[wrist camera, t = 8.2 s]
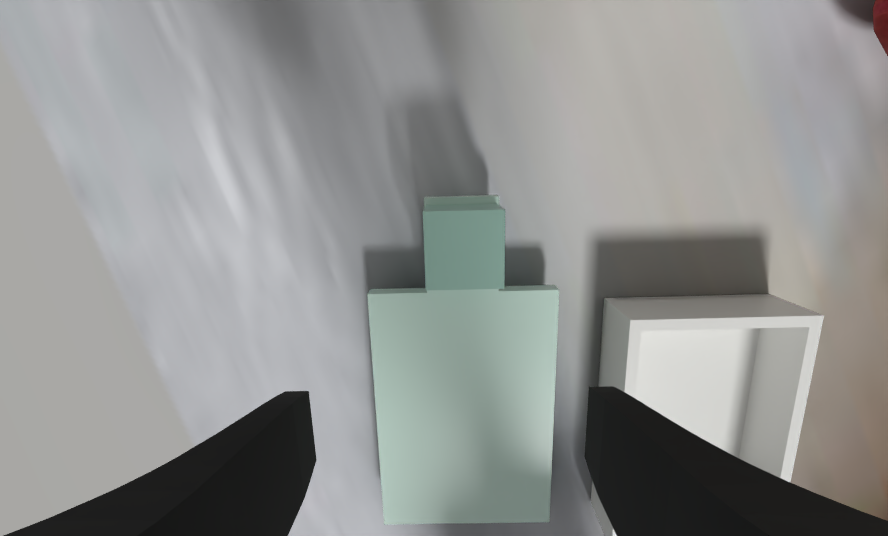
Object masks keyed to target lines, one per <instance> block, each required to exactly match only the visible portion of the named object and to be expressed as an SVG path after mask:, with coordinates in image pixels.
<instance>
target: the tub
mask: <svg viewBox="0 0 888 536" xmlns="http://www.w3.org/2000/svg"><path fill="white" fill-rule="evenodd" d="M823 318H824V315H821V314H819V313H816V312H814V311H811V310H809V309H806V308H804V307H801V306H799V305H796V304H794V303H791V302H788V301H786V300H783V299H781V298H778V297H776V296H773V295H771V294H746V295H707V296H667V297H627V298H604V307H603V323H602V338H601V353H600V368H599V383H598V387H605V386H614V387H616V388H618V389H620V390H621V391H623V392H625V393H627V394H629V395H630V396H632V397H634V398H635V399H637V400H639V401H640V402H642V403H643V404H645V405H647V406H648V407H650V408H652V409H653V410H655V411H656V412H658V413H660V414H661V415H663V416H665V417H666V418H668V419H670V420H671V421H673V422H675V423H676V424H678V425H680V426H681V427H683V428H685V429H686V430H688V431H690V432H691V433H693V434H695V435H697V436H698V437H700V438H702V439H704V440H706V441H707V442H709V443H711V444H713V445H715V446H717V447H719V448H720V449H722V450H724V451H726V452H728V453H730V454H731V455H733V456H735V457H737V458H739V459H741V460H743V461H745V462H747V463H749V464H751V465H753V466H756V467H758V468H760V469H762V470H764V471H766V472H768V473H771V474H773V475H775V476H777V477H779V478H781V479H783V480H786V481H788V482H790V481H791V476H792V471H793V466H794V461H795V457H796V452H797V447H798V442H799V437H800V432H801V427H802V422H803V417H804V412H805V407H806V402H807V397H808V392H809V387H810V382H811V377H812V372H813V368H814V363H815V358H816V353H817V348H818V343H819V338H820V333H821V328H822V323H823ZM591 504H592V507H593V509H594V511H595V514H596V516H597V518H598V521H599V523H600V526H601V528H602V530H603V533H604V535H605V536H617V535H616V533H615V531H614V529H613V527H612V525H611V523H610V520H609V518H608V516H607V514H606V512H605V510H604V508H603V506H602V504H601V501H600V499H599V497H598V495H597V492H596V489H595V486H594V483H593V481H592V489H591Z"/></svg>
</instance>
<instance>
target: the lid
mask: <svg viewBox="0 0 888 536" xmlns="http://www.w3.org/2000/svg"><path fill="white" fill-rule="evenodd" d="M423 233H424V260H425V286H426V288H394V289H370V291H369V292H368V294H367V298H368V311H369V325H370V339H371V352H372V366H373V379H374V393H375V407H376V420H377V434H378V447H379V461H380V474H381V488H382V502H383V515H384V525H388V524H463V523H539V522H549V518H550V495H551V471H552V448H553V425H554V402H555V378H556V355H557V332H558V308H559V289H558V288H557V287H556V286H555V285H530V286H504V279H505V209H504V208H502V207H501V206H500V205H499V196H498V195H476V196H437V197H424V210H423Z"/></svg>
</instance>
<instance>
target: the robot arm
mask: <svg viewBox="0 0 888 536" xmlns="http://www.w3.org/2000/svg"><path fill="white" fill-rule="evenodd" d="M585 459H586V462H587V465H588V468H589V471H590V475H591V478H592V481H593V483H594V486H595V489H596V492H597V495H598V497H599V499H600V501H601V504H602V506H603V508H604V510H605V512H606V514H607V516H608V518H609V520H610V523H611V525H612V527H613V529H614V531H615V533H616V535H617V536H888V521H886V520H883V519H881V518H878V517H875V516H872V515H870V514H867V513H864V512H861V511H859V510H856V509H854V508H851V507H849V506H846V505H844V504H841V503H839V502H836V501H834V500H831V499H828V498H826V497H823V496H821V495H818V494H816V493H813V492H811V491H809V490H806V489H804V488H802V487H799V486H797V485H795V484H792V483H790V482H788V481H786V480H783V479H781V478H779V477H777V476H775V475H773V474H771V473H768V472H766V471H764V470H762V469H760V468H758V467H756V466H753V465H751V464H749V463H747V462H745V461H743V460H741V459H739V458H737V457H735V456H733V455H731V454H730V453H728V452H726V451H724V450H722V449H720V448H719V447H717V446H715V445H713V444H711V443H709V442H707V441H706V440H704V439H702V438H700V437H698V436H697V435H695V434H693V433H691V432H690V431H688V430H686V429H685V428H683V427H681V426H680V425H678V424H676V423H675V422H673V421H671V420H670V419H668V418H666V417H665V416H663V415H661V414H660V413H658V412H656V411H655V410H653V409H652V408H650V407H648V406H647V405H645V404H643V403H642V402H640V401H639V400H637V399H635V398H634V397H632V396H630V395H629V394H627V393H625V392H623V391H621V390H620V389H618V388H616V387H614V386H605V387H589V397H588V413H587V428H586V444H585ZM315 463H316V453H315V444H314V435H313V426H312V417H311V409H310V400H309V391H290V392H283V393H281V394H280V395H278V396H276V397H274V398H273V399H271V400H269V401H268V402H266V403H264V404H263V405H261V406H260V407H258V408H256V409H255V410H253V411H252V412H250V413H249V414H247V415H246V416H244V417H242V418H241V419H239V420H238V421H236V422H235V423H233V424H231V425H230V426H228V427H227V428H225V429H224V430H222V431H220V432H219V433H217V434H216V435H214V436H212V437H211V438H209V439H207V440H205V441H204V442H202V443H200V444H199V445H197V446H195V447H194V448H192V449H190V450H189V451H187V452H185V453H184V454H182V455H180V456H179V457H177V458H175V459H173V460H171V461H170V462H168V463H166V464H164V465H162V466H160V467H158V468H157V469H155V470H153V471H151V472H149V473H147V474H145V475H143V476H141V477H139V478H137V479H135V480H133V481H131V482H129V483H127V484H125V485H123V486H121V487H119V488H117V489H114V490H112V491H110V492H108V493H106V494H103V495H101V496H99V497H97V498H94V499H92V500H90V501H87V502H85V503H83V504H80V505H78V506H76V507H74V508H71V509H69V510H67V511H64V512H62V513H60V514H57V515H55V516H53V517H51V518H48V519H46V520H43V521H40V522H38V523H35V524H33V525H30V526H28V527H25V528H23V529H20V530H17V531H15V532H12V533H9V534H7V535H4V536H288V534H289V531H290V529H291V527H292V525H293V523H294V520H295V518H296V516H297V514H298V512H299V509H300V507H301V505H302V502H303V500H304V498H305V495H306V492H307V489H308V486H309V483H310V479H311V476H312V473H313V469H314V466H315Z"/></svg>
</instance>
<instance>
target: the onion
mask: <svg viewBox="0 0 888 536" xmlns="http://www.w3.org/2000/svg"><path fill="white" fill-rule="evenodd" d="M873 25H874V32H875V34H876V36H877V38H878V39H879V41H880V43H881V45H882V47H883V48H884V50H885V52H886V54H887V56H888V0H876V1H875V4H874V6H873Z"/></svg>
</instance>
